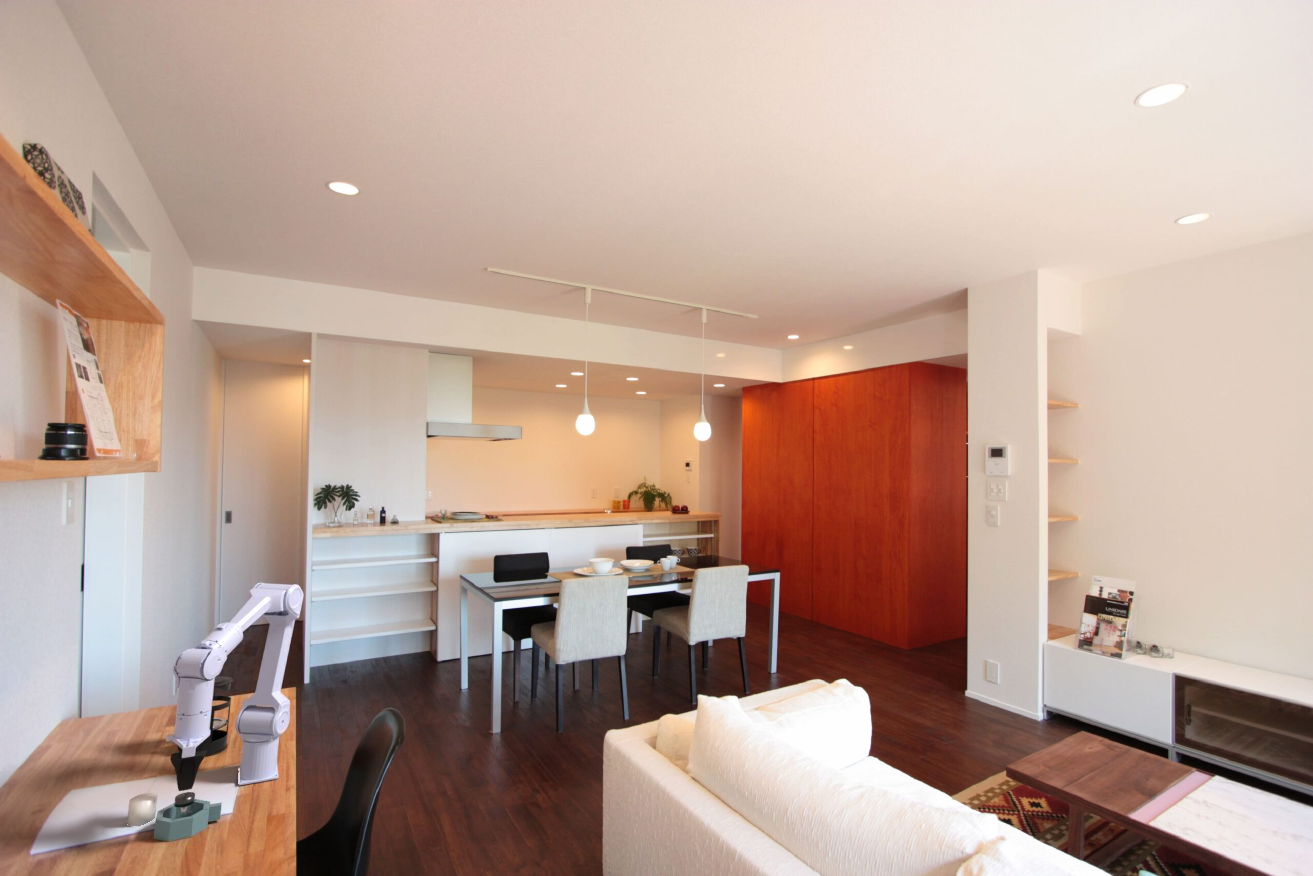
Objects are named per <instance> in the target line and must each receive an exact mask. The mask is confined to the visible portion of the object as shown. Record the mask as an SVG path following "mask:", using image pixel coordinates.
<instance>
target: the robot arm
mask: <svg viewBox="0 0 1313 876" xmlns="http://www.w3.org/2000/svg"><path fill="white" fill-rule="evenodd" d="M304 595H305V594H304V592H303V590H302V588H301V586H300V585H299V584H295V583H294V584H285V583H283V584H282V583H265V582H258V583H256V584H254V586H252V589H250V590H249V591H248V594H247V599H246V602H245V603H244V604H243V606H242V607H241V608H240V609H239V610H238V612H236V614H235V615H233V617H232V618H231V619H230V621H228V622H221V623H218V624H217V626H215V628H214V629H213V630H212V631H211V632H210V633H208V634H207V635H206V636H205V637H204V638H203V639H202V640H201V641H200V642H199V643H198V644H197V645H196V646H195V647H191V648H188V649H186V650H184V651H183V652H182V651H181V653H180V654H179V655H178V656H177V658H176V660H175V663H174V666H173V667H172V673H173V675H174V677H175V679H176V682H175V686H176V688H178V694H177V701H176V702H177V705H176V715H175V722H174V723H175V725H174V732H173V733H171V734H168V735H166V737H165V738H166V739H165V741H166V742H173V743H174V744H175V745H176V747H177V749H178V752H175V753H171V755H170V763H171V764H172V766H173V769H174V771H175V775H176V776H175V777H176V784H177V790H178V792H183V791H188V790H192V789H193V786H194V784H195V781H196V777H197V774H198V770H199V768H200V766H201V764H202V762H203V760H204V759H205V758H206V757H205V756H206V753H207V750H205V751H201V750H202V748H203V746H204V744H205V742H206V740H207V739H208V737H209V736H210V719H211V709H212V706H213V704H212V699H213V696H214V690H215V689H214V688H215V687H214V679H215V677H216V676H220V674H221V672H222V669H223V667H224V664H225V662H227V659H228V655H229V654H230V653H232V651H233V650H234V649H235V648H236V647H237V646H238V645H239V644H240V643H241V642H242V641H243V640H244V633H243V632H244V631H246V630H247V629H248V628H249V627H250V626H251V625H252V624H254V623H255V622H256V621H257V620H258V619H260V618H261V617H263V618H265V619H266V621H267V622H268V624H269V627H268V631H267V636H266V641H265V646H264V649H263V650H264V651H263V654H262V659H261V664H260V669H259V673H258V678H257V683H256V687H255V692H254V694H251V695H250V696H249V697H247V698H245V699H244V700H243V701H242V705H241V708H240V711H239V712H238V715H237V716H236V719H235V723H234V724H235V731H236V733H237V734H239V735H240V736H239V737H240V738H239V739H240V740H242V747H241V757H240V759H241V760H240V766H239V767H240V782H239V785H238V786H243V785H248V784H249V785H250V784H255V783H261V782H266V781H272V780H277V779H279V769H278V768H279V767H278V766H279V765H278V755H279V754H278V753H279V752H278V751H279V745H280V744H279V742H280V736H282V735H283V733H284V732H286V730H287V729H288V727H289V724H290V720H291V714H290V712H291V711H290V707H291V701H290V699H289V698H287V697H286V696H285V695H284V694H283V693H282V692H281V691H282V685H283V680H284V676H285V671H286V666H287V661H288V657H289V652H290V645H291V641H292V637H293V631H294V627H295V622H296V620H298V619H299V618H300V616H301V615H300V614H301V610H302V605H303V601H304Z"/></svg>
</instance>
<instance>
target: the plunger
mask: <svg viewBox="0 0 1313 876" xmlns="http://www.w3.org/2000/svg"><path fill="white" fill-rule="evenodd" d="M195 799H196V793H195V791H194V792H193V791H187V792H186V791H185V792H182V793H179V794H177V795H176V796H175V797H174V802H173V803H174V806H175V807H181V814H180V818H184V817H186V810H187V806H189V805H191V804H193V803H194V800H195Z"/></svg>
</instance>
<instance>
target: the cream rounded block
mask: <svg viewBox="0 0 1313 876" xmlns="http://www.w3.org/2000/svg"><path fill="white" fill-rule="evenodd" d="M157 805H158V794H157V793H155V792H145V793H142V794H141V793H140V794H137V795H135V796H133V797H132V798H130V799H129V802H128V811H127V820H126V825H127V824H128V825H129V826H138V827H142V826H141V825H143V826H145V825H144V824H146V823H148V822H150V821H152V820H153V819H154V818H155V819H156V815H157V813H156V812H157ZM155 819H154V820H155ZM154 820H153V821H154ZM153 821H152V822H153ZM150 823H151V822H150ZM148 824H149V823H148ZM146 825H147V824H146ZM129 826H128V827H129Z"/></svg>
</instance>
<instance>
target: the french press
mask: <svg viewBox="0 0 1313 876" xmlns="http://www.w3.org/2000/svg"><path fill="white" fill-rule="evenodd" d="M233 682H234V679H233V678H232V677H231V676H222V675H217V676H216V677H215V679H214V688H218V689H221V690H223V691H226V692H228V691H229V690H230V689H231V683H233ZM217 701H218V702H223V703H220V704H216V705H213V703H214V702H217ZM231 703H232V697H230V696H228V695H220V694H219V695H217V694H216V695H213V699H212V709H211V719H210V736H209V737H208V739H207V740H206V742H205V744H204V746H203V748H202V750H201V751H205V750H207V753H206V756H205V757H204V758H206V757H211V756H214V755H217V754H221V753H223V752H224V751H225V750H226V749H227V748H228V745H229V743H228V742H227V741H228V736H229V735H228V734H229V725H230V724H229V722H230V714H231ZM227 708H228V713H227V718H223V717H215V712H217V711H221V710H224V709H227ZM225 726H226V730H224V729H222V728H224V727H225Z"/></svg>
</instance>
